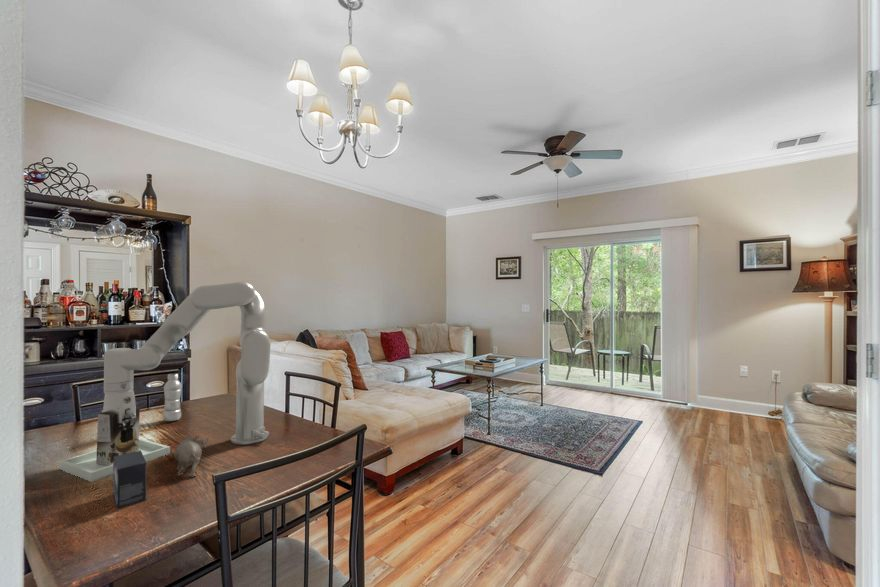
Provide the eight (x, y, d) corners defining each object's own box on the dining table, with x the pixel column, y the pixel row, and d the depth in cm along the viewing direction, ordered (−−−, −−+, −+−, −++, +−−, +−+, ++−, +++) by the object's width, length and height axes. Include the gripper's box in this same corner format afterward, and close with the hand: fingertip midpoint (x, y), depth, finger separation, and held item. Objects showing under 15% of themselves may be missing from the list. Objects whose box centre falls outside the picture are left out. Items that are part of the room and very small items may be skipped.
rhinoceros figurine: (164, 476, 112) (177, 424, 120) (170, 487, 122) (182, 438, 130) (195, 475, 115) (206, 424, 123) (199, 485, 125) (209, 437, 133)
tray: (169, 454, 133) (169, 446, 133) (90, 482, 113) (91, 473, 113) (138, 445, 141) (138, 437, 141) (59, 469, 121) (59, 461, 121)
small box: (111, 493, 107) (112, 455, 107) (141, 486, 112) (141, 449, 112) (115, 509, 99) (116, 468, 100) (147, 500, 104) (147, 461, 104)
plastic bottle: (165, 419, 170) (166, 373, 170) (183, 417, 172) (184, 372, 172) (160, 423, 164) (160, 376, 164) (178, 422, 166) (179, 375, 166)
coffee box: (111, 466, 122) (112, 415, 122) (95, 464, 123) (96, 413, 124) (139, 455, 131) (140, 407, 131) (124, 453, 132) (125, 405, 132)
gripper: (147, 386, 127) (146, 439, 127) (117, 381, 134) (116, 431, 134) (120, 391, 120) (120, 447, 120) (90, 385, 127) (89, 438, 127)
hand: (118, 438), depth 127 cm, fingers open, 9 cm apart
